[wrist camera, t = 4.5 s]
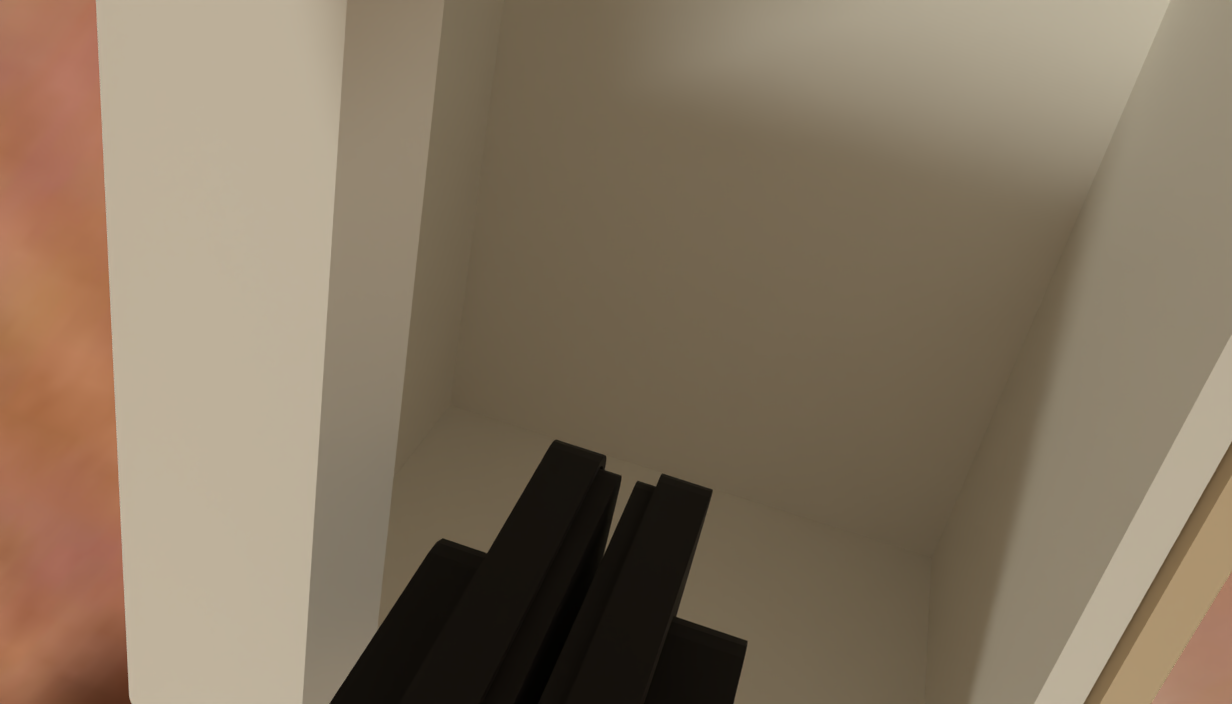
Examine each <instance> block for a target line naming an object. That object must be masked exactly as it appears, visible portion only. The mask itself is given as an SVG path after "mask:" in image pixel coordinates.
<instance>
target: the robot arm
mask: <svg viewBox="0 0 1232 704" xmlns="http://www.w3.org/2000/svg"><path fill="white" fill-rule="evenodd" d="M605 466H606V455H603V454H600V453H597V452H594V451H591V450H588V449H584V448H581V447H578V446H575V445H572V444H569V443H566V442H563V441H559V440H554V441H553V442H552V444H551V445H550V446H549V448H548V450H547V452H546V453H545V455H544V457H543V458H542V460H541V462H540V464H539V465H538V467H537V469H536V470H535V472H534V474H533V476H532V477H531V479H530V481H529V482H528V484H527V486H526V487H525V489H524V491H523V493H522V494H521V496H520V498H519V499H518V501H517V503H516V505H515V506H514V508H513V510H512V511H511V513H510V515H509V517H508V518H507V520H506V522H505V523H504V525H503V527H502V529H501V530H500V532H499V534H498V535H497V537H496V539H495V541H494V542H493V544H492V546H491V547H490V549H489V551H488V553H485V552H482V551H479V550H476V549H473V548H470V547H468V546H465V545H462V544H459V543H456V542H453V541H450V540H447V539H444V538H442V539H441V540H439V541H437V542H436V543H435V545H434V546H433V547H432V549H431V550H430V551H429V552H428V554H427V556H426V557H425V559H424V560H423V562H422V563H421V565H420V566H419V568H418V569H417V571H416V572H415V574H414V575H413V577H412V578H411V580H410V581H409V583H408V584H407V586H406V588H405V589H404V591H403V592H402V594H401V595H400V597H399V598H398V600H397V601H396V603H395V604H394V606H393V607H392V609H391V610H390V612H389V613H388V615H387V616H386V618H385V620H384V621H383V623H382V624H381V626H380V627H379V629H378V630H377V632H376V633H375V635H374V636H373V638H372V639H371V641H370V642H369V644H368V645H367V647H366V649H365V650H364V652H363V653H362V655H361V656H360V658H359V659H358V661H357V662H356V664H355V665H354V667H353V668H352V670H351V671H350V673H349V674H348V676H347V677H346V679H345V681H344V682H343V684H342V685H341V687H340V688H339V690H338V691H337V693H336V694H335V696H334V697H333V699H332V700H331V702H330V703H329V704H734V699H735V695H736V691H737V687H738V683H739V679H740V675H741V671H742V667H743V662H744V658H745V654H746V649H747V643H748V641H747V640H744V639H741V638H738V637H735V636H732V635H729V634H726V633H723V632H720V631H717V630H714V629H711V628H708V627H705V626H702V625H699V624H696V623H693V622H690V621H687V620H684V619H681V618H678V617H676V616H677V612H678V609H679V606H680V602H681V599H682V595H683V592H684V589H685V585H686V582H687V578H688V575H689V572H690V568H691V565H692V561H693V558H694V555H695V551H696V548H697V544H698V541H699V538H700V534H701V531H702V527H703V524H704V521H705V517H706V514H707V510H708V507H709V503H710V500H711V496H712V493H713V489H709V488H706V487H703V486H700V485H697V484H694V483H691V482H688V481H684V480H681V479H678V478H675V477H672V476H669V475H666V474H663V473H662V474H661V476H660V478H659V480H658V483H657V485H656V486H653V485H650V484H647V483H644V482H640V481H637V482H636V484H635V486H634V488H633V490H632V493H631V495H630V497H629V499H628V502H627V504H626V506H625V508H624V511H623V513H622V515H621V518H620V520H619V522H618V524H617V527H616V529H615V531H614V533H613V536H612V538H611V540H610V542H609V545H608V547H607V549H606V551H605V548H606V543H607V539H608V535H609V531H610V527H611V523H612V519H613V514H614V510H615V506H616V502H617V498H618V494H619V489H620V485H621V479H622V476H621V475H619V474H616V473H612V472H609V471H606V470H605ZM604 552H605V554H604Z"/></svg>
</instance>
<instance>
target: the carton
mask: <svg viewBox="0 0 1232 704" xmlns="http://www.w3.org/2000/svg"><path fill="white" fill-rule="evenodd" d="M554 440H559V441H563V442H566V443H569V444H572V445H575V446H578V447H581V448H584V449H588V450H591V451H594V452H597V453H600V454H603V455H606V466H605V470H606V471H609V472H612V473H616V474H619V475H621V476H622V479H621V485H620V489H619V494H618V498H617V502H616V506H615V510H614V514H613V519H612V523H611V527H610V531H609V535H608V539H607V543H606V548H605V551H606V549H607V547H608V545H609V542H610V540H611V538H612V536H613V533H614V531H615V529H616V527H617V524H618V522H619V520H620V518H621V515H622V513H623V511H624V508H625V506H626V504H627V502H628V499H629V497H630V495H631V493H632V490H633V488H634V486H635V484H636V482H637V481H640V482H644V483H647V484H650V485H653V486H656V485H657V483H658V480H659V478H660V476H661V474H662V473H663V474H666V475H669V476H672V477H675V478H678V479H681V480H684V481H688V482H691V483H694V484H697V485H700V486H703V487H706V488H709V489H713V493H712V496H711V500H710V503H709V507H708V510H707V514H706V517H705V521H704V524H703V527H702V531H701V534H700V538H699V541H698V544H697V548H696V551H695V555H694V558H693V561H692V565H691V568H690V572H689V575H688V578H687V582H686V585H685V589H684V592H683V595H682V599H681V602H680V606H679V609H678V612H677V616H676V617H678V618H681V619H684V620H687V621H690V622H693V623H696V624H699V625H702V626H705V627H708V628H711V629H714V630H717V631H720V632H723V633H726V634H729V635H732V636H735V637H738V638H741V639H744V640H747V641H748V643H747V649H746V654H745V658H744V662H743V667H742V671H741V675H740V679H739V683H738V687H737V691H736V695H735V699H734V704H1151V703H1152V701H1153V700H1154V698H1155V696H1156V695H1157V693H1158V691H1159V690H1160V688H1161V686H1162V685H1163V683H1164V682H1165V680H1166V678H1167V677H1168V675H1169V673H1170V672H1171V670H1172V668H1173V667H1174V665H1175V663H1176V662H1177V660H1178V659H1179V657H1180V655H1181V654H1182V652H1183V650H1184V649H1185V647H1186V645H1187V644H1188V642H1189V640H1190V639H1191V637H1192V636H1193V634H1194V632H1195V631H1196V629H1197V627H1198V626H1199V624H1200V622H1201V621H1202V619H1203V618H1204V616H1205V614H1206V613H1207V611H1208V609H1209V608H1210V606H1211V604H1212V603H1213V601H1214V599H1215V598H1216V596H1217V595H1218V593H1219V591H1220V590H1221V588H1222V586H1223V585H1224V583H1225V581H1226V580H1227V578H1228V577H1229V575H1230V573H1231V572H1232V0H444V9H443V19H442V28H441V37H440V47H439V56H438V66H437V75H436V84H435V94H434V103H433V112H432V122H431V131H430V141H429V150H428V159H427V169H426V178H425V187H424V197H423V206H422V215H421V225H420V234H419V244H418V253H417V262H416V272H415V281H414V290H413V300H412V309H411V319H410V328H409V337H408V347H407V356H406V365H405V375H404V384H403V394H402V403H401V412H400V422H399V431H398V440H397V450H396V459H395V468H394V478H393V487H392V497H391V506H390V515H389V525H388V534H387V543H386V553H385V562H384V572H383V581H382V590H381V600H380V609H379V618H378V628H377V630H378V629H379V627H380V626H381V624H382V623H383V621H384V620H385V618H386V616H387V615H388V613H389V612H390V610H391V609H392V607H393V606H394V604H395V603H396V601H397V600H398V598H399V597H400V595H401V594H402V592H403V591H404V589H405V588H406V586H407V584H408V583H409V581H410V580H411V578H412V577H413V575H414V574H415V572H416V571H417V569H418V568H419V566H420V565H421V563H422V562H423V560H424V559H425V557H426V556H427V554H428V552H429V551H430V550H431V549H432V547H433V546H434V545H435V543H436V542H437V541H439V540H441V539H442V538H444V539H447V540H450V541H453V542H456V543H459V544H462V545H465V546H468V547H470V548H473V549H476V550H479V551H482V552H485V553H488V551H489V549H490V547H491V546H492V544H493V542H494V541H495V539H496V537H497V535H498V534H499V532H500V530H501V529H502V527H503V525H504V523H505V522H506V520H507V518H508V517H509V515H510V513H511V511H512V510H513V508H514V506H515V505H516V503H517V501H518V499H519V498H520V496H521V494H522V493H523V491H524V489H525V487H526V486H527V484H528V482H529V481H530V479H531V477H532V476H533V474H534V472H535V470H536V469H537V467H538V465H539V464H540V462H541V460H542V458H543V457H544V455H545V453H546V452H547V450H548V448H549V446H550V445H551V444H552V442H553V441H554ZM604 554H605V552H604Z"/></svg>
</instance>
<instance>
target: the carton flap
mask: <svg viewBox="0 0 1232 704" xmlns="http://www.w3.org/2000/svg"><path fill="white" fill-rule="evenodd" d="M443 9H444V0H96V11H97V32H98V53H99V74H100V95H101V116H102V137H103V158H104V179H105V200H106V221H107V242H108V263H109V284H110V305H111V326H112V347H113V368H114V389H115V410H116V431H117V452H118V473H119V494H120V515H121V536H122V557H123V578H124V599H125V620H126V641H127V662H128V683H129V698H130V701H131V703H132V704H329V703H330V702H331V700H332V699H333V697H334V696H335V694H336V693H337V691H338V690H339V688H340V687H341V685H342V684H343V682H344V681H345V679H346V677H347V676H348V674H349V673H350V671H351V670H352V668H353V667H354V665H355V664H356V662H357V661H358V659H359V658H360V656H361V655H362V653H363V652H364V650H365V649H366V647H367V645H368V644H369V642H370V641H371V639H372V638H373V636H374V635H375V633H376V632H377V628H378V618H379V609H380V600H381V590H382V581H383V572H384V562H385V553H386V543H387V534H388V525H389V515H390V506H391V497H392V487H393V478H394V468H395V459H396V450H397V440H398V431H399V422H400V412H401V403H402V394H403V384H404V375H405V365H406V356H407V347H408V337H409V328H410V319H411V309H412V300H413V290H414V281H415V272H416V262H417V253H418V244H419V234H420V225H421V215H422V206H423V197H424V187H425V178H426V169H427V159H428V150H429V141H430V131H431V122H432V112H433V103H434V94H435V84H436V75H437V66H438V56H439V47H440V37H441V28H442V19H443Z"/></svg>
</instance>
